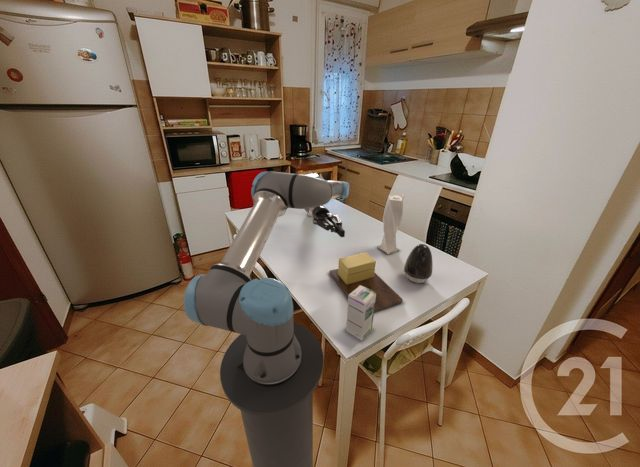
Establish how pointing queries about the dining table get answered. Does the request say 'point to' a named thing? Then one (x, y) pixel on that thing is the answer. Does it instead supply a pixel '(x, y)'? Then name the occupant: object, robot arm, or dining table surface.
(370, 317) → the syrup box
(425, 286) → the dining table surface
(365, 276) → the butter block
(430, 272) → the dark egg on stand
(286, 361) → the robot arm
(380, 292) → the walnut board
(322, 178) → the flower vase
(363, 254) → the butter slice
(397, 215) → the skyscraper
